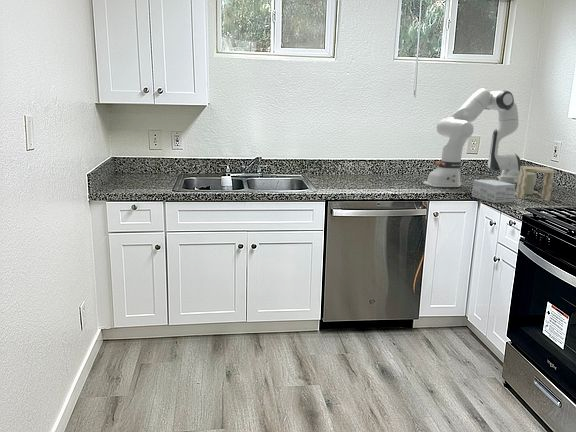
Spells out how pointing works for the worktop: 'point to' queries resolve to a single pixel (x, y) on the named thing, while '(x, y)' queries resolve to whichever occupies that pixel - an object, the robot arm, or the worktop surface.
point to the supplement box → (493, 191)
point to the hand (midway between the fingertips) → (520, 181)
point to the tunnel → (546, 185)
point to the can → (528, 183)
